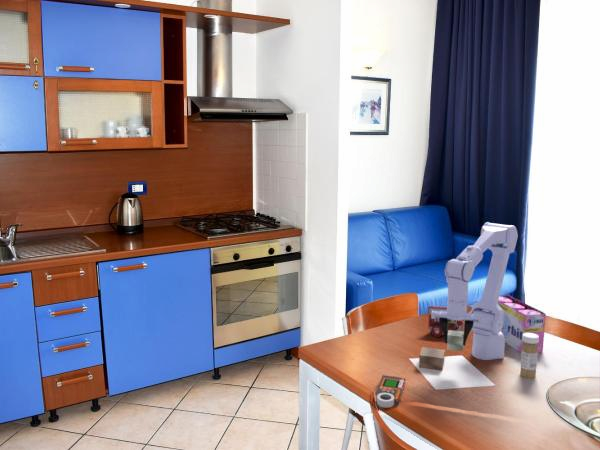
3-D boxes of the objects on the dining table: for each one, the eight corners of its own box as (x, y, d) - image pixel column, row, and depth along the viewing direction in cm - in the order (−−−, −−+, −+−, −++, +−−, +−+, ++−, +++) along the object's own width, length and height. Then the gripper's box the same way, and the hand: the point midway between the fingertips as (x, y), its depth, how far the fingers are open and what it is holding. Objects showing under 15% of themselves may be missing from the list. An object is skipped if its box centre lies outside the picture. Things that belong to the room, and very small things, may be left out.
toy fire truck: (462, 339, 197) (463, 311, 196) (426, 336, 201) (427, 308, 199) (462, 333, 204) (463, 305, 202) (427, 330, 207) (428, 303, 205)
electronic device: (372, 398, 149) (383, 373, 163) (372, 408, 150) (382, 382, 163) (397, 402, 147) (406, 376, 161) (397, 412, 147) (405, 386, 161)
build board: (461, 357, 181) (461, 355, 181) (495, 387, 160) (495, 385, 160) (408, 361, 179) (408, 358, 178) (435, 392, 157) (435, 389, 157)
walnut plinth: (444, 361, 176) (444, 349, 175) (442, 370, 170) (442, 358, 169) (421, 358, 178) (422, 347, 178) (419, 367, 172) (419, 355, 171)
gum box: (484, 329, 208) (486, 294, 205) (503, 328, 209) (505, 293, 207) (522, 354, 185) (525, 315, 182) (543, 352, 186) (546, 313, 184)
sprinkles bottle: (532, 374, 169) (535, 332, 167) (538, 381, 164) (541, 337, 162) (516, 374, 169) (519, 332, 167) (523, 381, 164) (526, 337, 162)
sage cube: (463, 345, 169) (463, 331, 168) (462, 351, 164) (463, 336, 164) (447, 344, 170) (448, 330, 169) (446, 349, 166) (447, 335, 165)
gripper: (431, 301, 163) (429, 345, 166) (483, 306, 159) (480, 351, 161) (433, 294, 170) (431, 337, 172) (483, 299, 166) (480, 342, 168)
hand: (455, 343), depth 167 cm, fingers closed on sage cube, 4 cm apart
